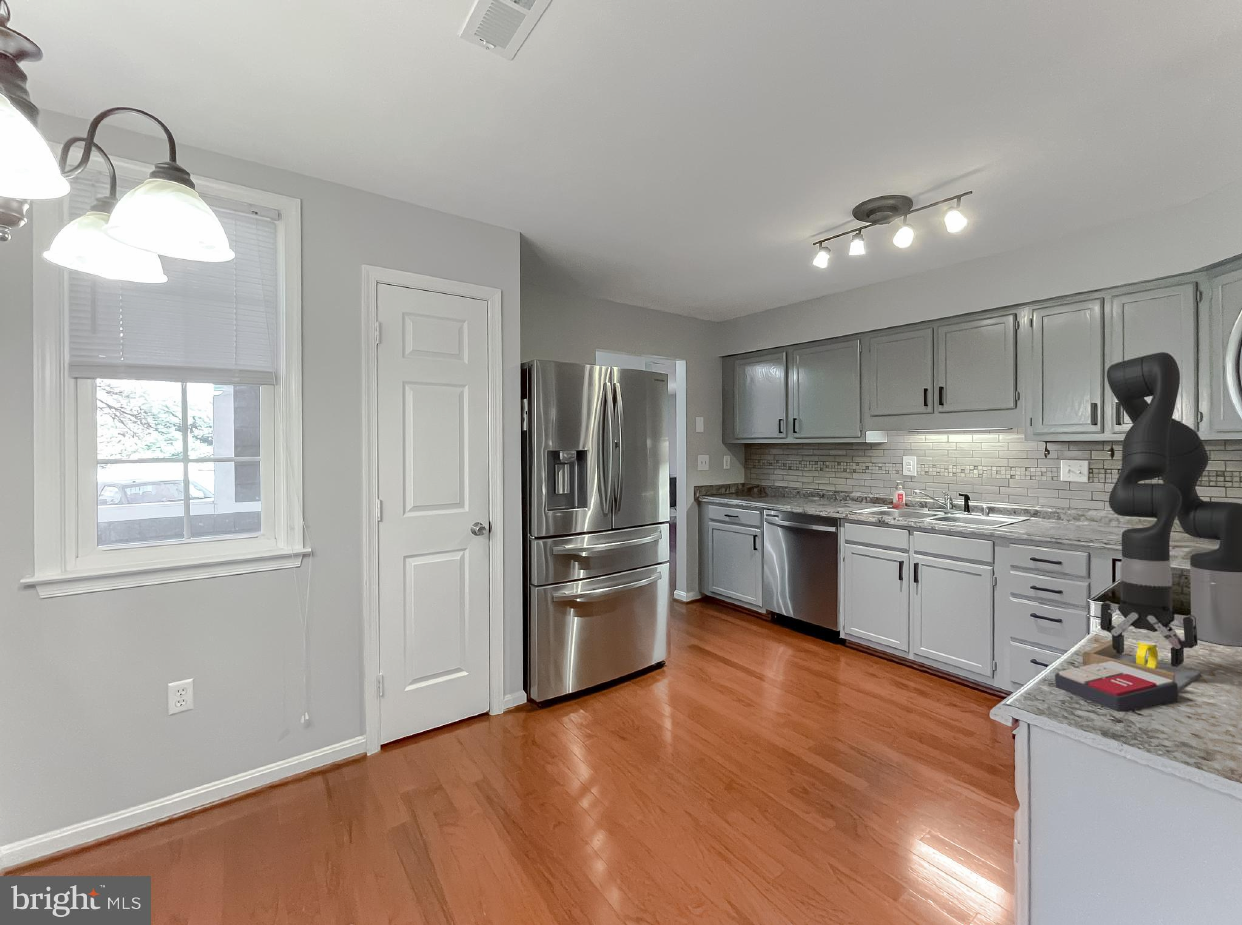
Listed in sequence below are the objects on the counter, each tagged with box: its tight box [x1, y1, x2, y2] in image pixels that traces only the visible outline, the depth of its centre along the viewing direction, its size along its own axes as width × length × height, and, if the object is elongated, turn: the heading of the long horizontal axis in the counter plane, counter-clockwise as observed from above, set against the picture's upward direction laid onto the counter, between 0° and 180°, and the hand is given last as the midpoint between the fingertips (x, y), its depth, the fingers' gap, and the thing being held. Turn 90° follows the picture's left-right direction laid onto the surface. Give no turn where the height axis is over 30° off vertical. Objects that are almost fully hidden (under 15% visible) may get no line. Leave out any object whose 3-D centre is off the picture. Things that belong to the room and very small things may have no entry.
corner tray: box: [1082, 638, 1201, 691], centre depth 110 cm, size 16×14×4 cm
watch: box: [1135, 640, 1159, 669], centre depth 109 cm, size 6×3×6 cm, turn 116°
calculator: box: [1054, 661, 1179, 713], centre depth 101 cm, size 11×4×15 cm
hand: (1146, 659), depth 109 cm, fingers open, 8 cm apart
